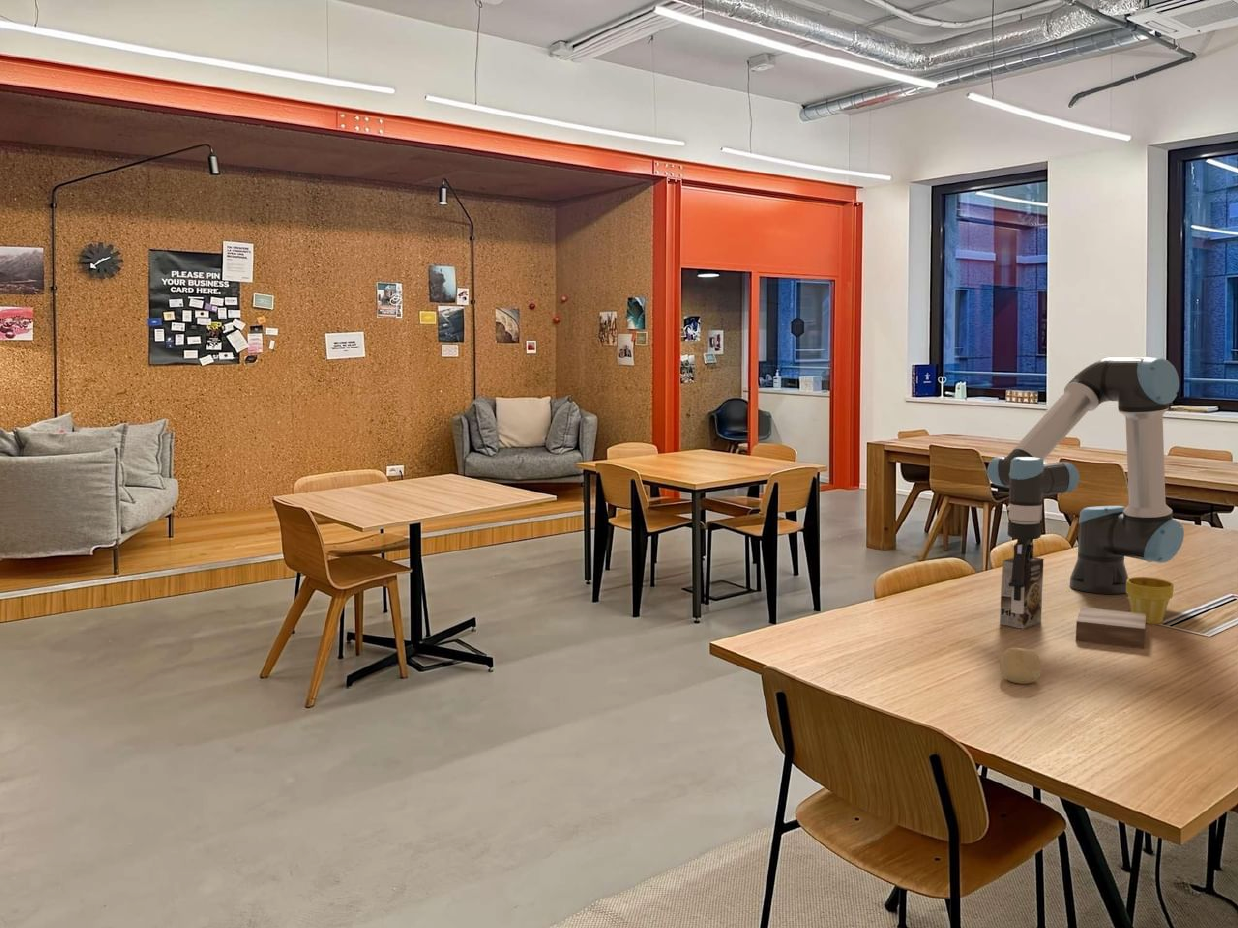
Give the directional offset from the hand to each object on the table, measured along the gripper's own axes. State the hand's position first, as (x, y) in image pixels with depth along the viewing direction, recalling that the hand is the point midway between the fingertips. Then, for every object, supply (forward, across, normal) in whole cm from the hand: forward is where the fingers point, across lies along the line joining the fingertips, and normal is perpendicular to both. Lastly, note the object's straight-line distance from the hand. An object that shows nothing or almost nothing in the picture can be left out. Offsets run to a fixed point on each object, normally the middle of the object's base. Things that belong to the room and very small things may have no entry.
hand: (1021, 606), depth 243 cm
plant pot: (+4, -17, +27) cm, 32 cm away
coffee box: (+4, 0, 0) cm, 4 cm away
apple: (+4, +44, +6) cm, 45 cm away
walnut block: (+5, +2, +20) cm, 21 cm away
